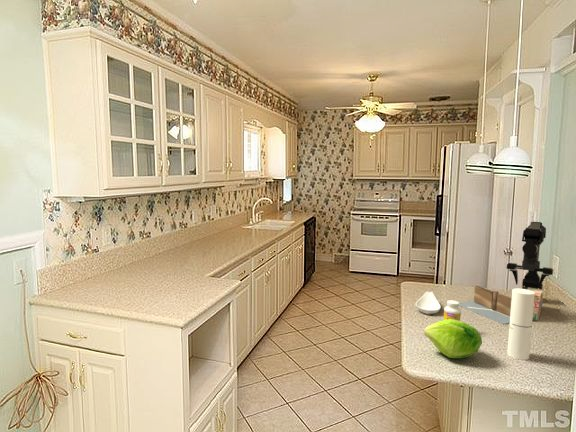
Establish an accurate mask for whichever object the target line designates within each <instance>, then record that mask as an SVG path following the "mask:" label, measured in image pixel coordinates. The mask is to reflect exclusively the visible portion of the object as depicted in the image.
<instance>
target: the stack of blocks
mask: <svg viewBox="0 0 576 432" xmlns="http://www.w3.org/2000/svg"><path fill="white" fill-rule="evenodd" d="M527 290H530V291H533V292H535V296H534V308H533V319H532V321H539V319H540V316H541V311H542V309H543V299H544V297H543V295H544V291H543V288H542V289H539V288H538V289H535V288H529V287H528V289H527Z"/></svg>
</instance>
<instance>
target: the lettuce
mask: <svg viewBox="0 0 576 432" xmlns="http://www.w3.org/2000/svg"><path fill="white" fill-rule="evenodd" d="M423 334H424V336H425V337H426V338H428V339H429V340H430V342H431V343H432V344H433V345H434V347H435V348H436V349H437V350H438V351H440V352H441V353H442V354H443V355H444V356H446V357H448V358H450V359H464V358H468V357H471V356H473V355H474V354H475V353H477V352H478V351H479V350H480V348H481V345H482V344H483V340H482V336H481V335H482V334H480V332H479V331H478V329H476V327H474V326H472V325H471V324H468V323H467V322H463V321H461V320H460V321H458V320H454V319H446V320H444V319H443V320H439V321H437V322H434V323H432V324H430V325H428V326H426V327H425V328H424V330H423Z"/></svg>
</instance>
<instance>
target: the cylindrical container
mask: <svg viewBox="0 0 576 432" xmlns="http://www.w3.org/2000/svg"><path fill="white" fill-rule="evenodd" d="M534 296H535V292H533V291H530V290H527V289H522V288H518V287H516V288H513V289H511V298H512V300H511V313H510V323H509V328H508V339H507V350H506V354H507V356H509V357H510V358H513V359H515V360H520V361H528V360H529V359H530V353H531V341H532V340H531V339H532V331H533V320H532V319H533V308H534Z"/></svg>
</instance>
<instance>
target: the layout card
mask: <svg viewBox="0 0 576 432" xmlns="http://www.w3.org/2000/svg"><path fill="white" fill-rule="evenodd" d="M459 306H460V307H462V308H464V309H466V310H469V311H472V312H474V313H476V314H477V315H481V316H483V317H485V318H487V319H490V320H492V321H494V322H497V323H499V324H501V325H507V324H508V325H509V324H510V317H509V316H506V315H504V314H501V313H499V312H496V311H493V310H492V308H489V307H486V306H484V305H481V304H479V303H476V302H474V300H470V301H463V302H459ZM459 306H458V307H459Z"/></svg>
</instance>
